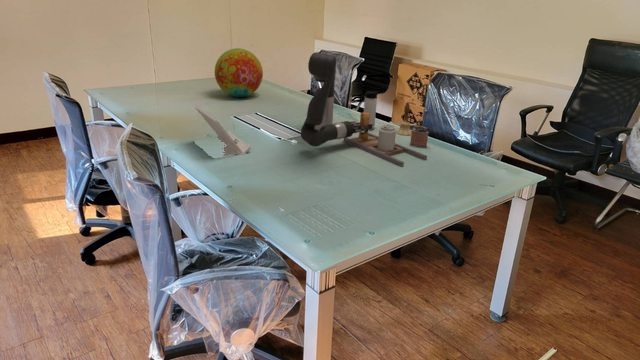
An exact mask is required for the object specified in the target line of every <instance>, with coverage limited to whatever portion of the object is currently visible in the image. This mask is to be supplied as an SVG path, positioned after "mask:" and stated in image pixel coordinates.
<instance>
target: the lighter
mask: <svg viewBox="0 0 640 360" xmlns="http://www.w3.org/2000/svg"><path fill="white" fill-rule="evenodd" d="M427 129H428V128H427V127H426V126H423V125H420V126H419V125H414V124H413V127H412V129H410V130H411V132H412V134H411V135H410V143H409V146H410V147H415V148H422V149H423V148H424V149H425V148H427V147H428V145H427V144H428V138H429V133H430V132H429V131H428V130H427Z"/></svg>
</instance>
